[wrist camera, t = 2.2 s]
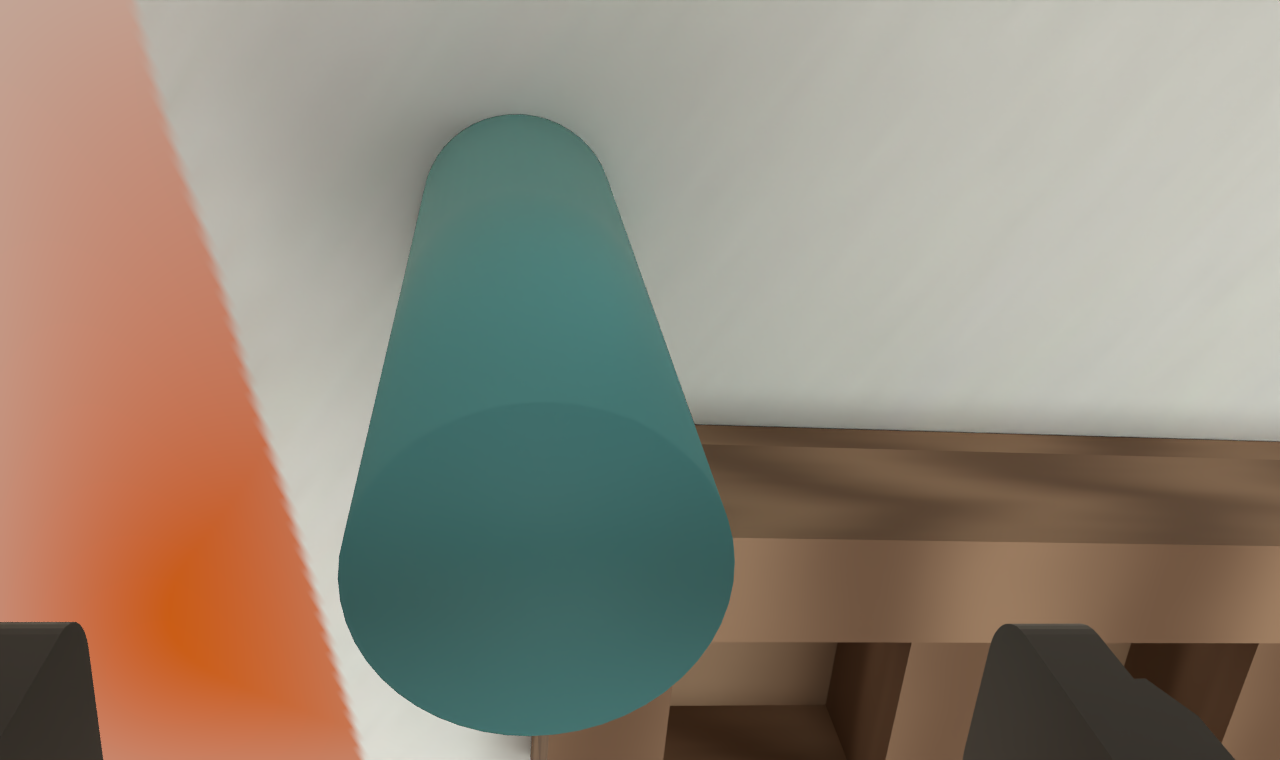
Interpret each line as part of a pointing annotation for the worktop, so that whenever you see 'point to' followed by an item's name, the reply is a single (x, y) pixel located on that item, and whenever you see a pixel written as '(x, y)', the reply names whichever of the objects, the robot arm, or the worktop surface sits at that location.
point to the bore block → (965, 588)
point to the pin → (530, 458)
